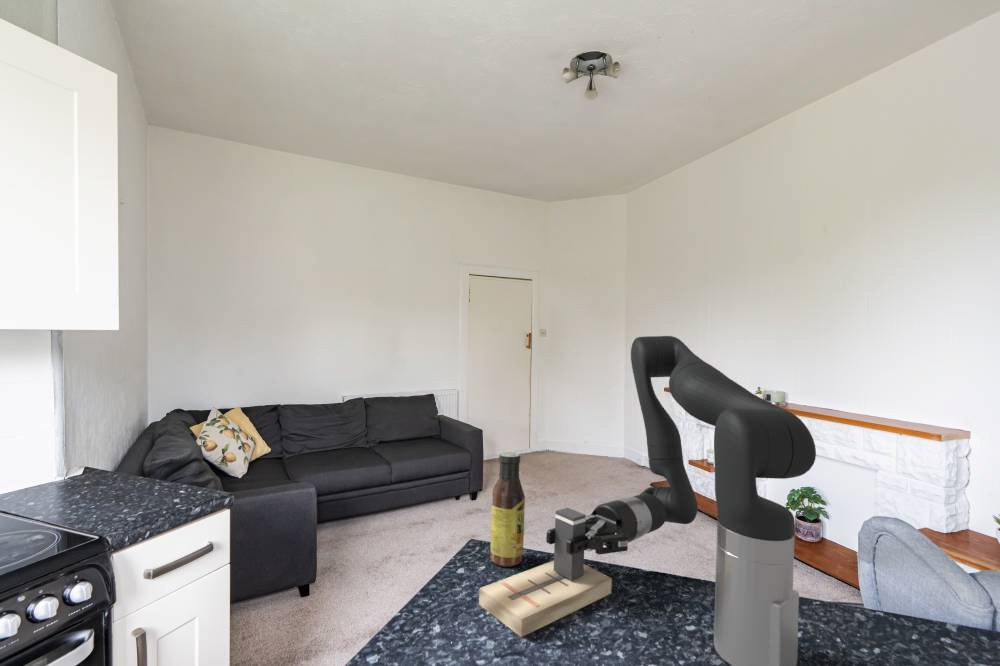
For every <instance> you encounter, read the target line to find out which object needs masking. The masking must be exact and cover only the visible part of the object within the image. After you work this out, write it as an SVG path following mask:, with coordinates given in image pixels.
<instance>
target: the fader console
mask: <svg viewBox="0 0 1000 666" xmlns="http://www.w3.org/2000/svg"><path fill="white" fill-rule="evenodd" d="M612 581H613V579H612V577H610V576H608V575H606V574H604V573H602V572H600V571H599V570H597V569H594V568H592V567H591V566H588V565H587V564H585V563H584V574H583V576H580V577H578V578H576V579H573V580H570V579H568V578H566V577H564V576H563V575H561V574H559V573H557V572H555V571H554V560H551V561H548V562H546V563H544V564H540V565H538V566H535V567H532V568H530V569H527V570H525V571H522V572H519V573H517V574H514V575H511V576H509V577H506V578H504V579H500V580H498V581H495V582H493V583H490V584H487V585H485V586H482V587H479V591H478V592H479V593H478V605H479V606H480V607H482V608H483V609H484V610H486V612H488V613H489V614H491V615H492V616H493V617H494V618H496V619H497V620H498V621H500V622H501V623H502V624H504V625H505V626H506V627H508V628H509V629H510V630H511V631H512V632H514V633H515V634H516V635H517V636H519V637H520V638H523V637H525V636H526V635H529V634H531V633H533V632H535V631H537V630H539V629H541V628H544V627H545V626H547V625H550V624H551V623H554V622H556V621H558V620H559V619H562V618H564V617H566V616H568V615H570V614H571V613H575V612H576V611H578V610H580V609H582V608H584V607H586V606H589V605H591V604H592V603H595V602H597V601H599V600H601V599H603V598H605V597H607V596H609V595H611V594H612V586H613V585H612Z"/></svg>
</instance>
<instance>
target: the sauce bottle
mask: <svg viewBox="0 0 1000 666" xmlns="http://www.w3.org/2000/svg"><path fill="white" fill-rule="evenodd" d="M498 455H499V456H498V462H499V473H498V477H499V479H498V480H497V481H496V483H495V484H494V487H493V488H492V503H491V515H490V516H491V520H490V521H491V522H490V555H489V556H490V560H491V562H492V563H494V564H495V565H497V566H500V567H508V568H509V567H515V566H518V565H519V564H520V563H521V562H522V560H523V553H524V535H525V532H524V531H525V507H526V506H525V505H526V504H525V503H526V501H525V500H526V495H525V492H524V490H523V487H522V482H521V480H520V463H521V454H520V453H516V452H512V451H511V452H510V451H509V452H507V451H506V452H501V453H499V454H498ZM513 547H515V548H513ZM518 548H520V549H518ZM522 549H523V550H522Z"/></svg>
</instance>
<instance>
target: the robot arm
mask: <svg viewBox="0 0 1000 666" xmlns="http://www.w3.org/2000/svg"><path fill="white" fill-rule="evenodd" d="M630 362H631V368H632V374H633V379H634V383H635V388H636V393H637V397H638V401H639V406H640V409H641V414H642V419H643V422H644V424H643V425H644V429H645V436H646V446H647V457H648V467H649V470H650V472H651V473H652V474H655V475H657V476H661V477H663V478H664V479H665V480H666V481H667V483H668V486H660V485H657V486H651V487H650V486H649V487H648V488H646V489H644V490H643V491H642V492H640V494H638V495H633V496H631V497H622V498H619V499H615V500H612V501H608V502H605V503H604V502H603V503H602V504H598V505H597V506H596V507H595V508H594V510H593V511H592V512H591V514H587V515H586V514H585V515H586V516H585V518H586V521H585V536H583V535H581V536H578V537H575V538H572V539H569V540H568V541H567V549H566V552H567V553H568V554H570V555H572V554H575V553H579V552H581V551H584V552H585V551H586V552H592V551H595V554H597V555H607V554H611V553H612V554H613V553H614V554H615V553H620V552H621V553H622V552H628V546H629V543H631V542H634V541H637V540H638V539H640V538H642V537H643V536H645V535H647V534H650V533H652V532H655V531H657V530H658V529H660V528H661V527H663V526H664V524H665V522H666V523H672V524H673V523H674V524H680V525H689V524H691V523H693V521H695V519H696V517H697V514H698V509H699V508H698V501H697V500H698V499H697V497H696V493H695V490H694V489H693V486H692V484H691V481H690V479H689V475H688V473H687V470H686V468H685V465H684V456H683V446H682V438H681V434H680V431H679V428H678V427H677V424H676V423H675V421H674V420H673V418H672V417H671V415H670V414H669V413H668V412H667V410H666V409H665V407H664V406H663V405H662V403H661V401H660V400H659V399H658V397H657V395H656V393H655V390H654V387H653V381H652V378H669V380H668V388H669V389H668V390H669V393H670V395H671V396H672V398H673V399H674V401H675V403H677V404H678V405H679V407H681V408H682V409H683V410H684V411H685V412H686V413H687V414H688V415H690V416H691V417H693V418H695V419H696V420H699V421H700V422H703V423H706V424H708V425H710V426H713V427H714V434H713V455H714V493H715V494H714V496H715V502H716V509H717V514H716V515H717V517H716V518H717V521H716V522H717V524H716V551H715V552H716V553H715V581H714V582H715V583H714V585H715V586H714V587H715V589H714V590H715V591H714V620H713V621H714V623H713V646H714V649H715V651H716V653H717V654H718V655H719V657H720V658H722V660H723V661H725V662H726V663H728V664H729V665H730V666H798V648H799V647H798V642H799V641H798V640H799V638H798V637H799V601H800V600H799V599H800V597H799V596H800V594H799V592H798V591H797V590H795V589H794V561H795V559H794V557H795V533H796V532H795V531H796V530H795V528H796V526H795V525H796V523H795V517H794V515H793V513H792V511H790V510H789V509H788V508H787V507H785V506H784V505H782V504H780V503H777V502H775V501H773V500H772V499H771V500H770V499H767V498H765V497H762V496H761V495H759V494H758V488H757V479H775V480H776V479H779V480H780V479H783V480H784V479H793V478H797V477H800V476H803V475H805V474H806V473H808V472H809V471H810V470H811V468H812V467H813V465H814V464H815V462H816V458H817V451H816V444H815V440H814V438H813V436H812V434H811V432H810V430H809V428H808V426H807V425H806V424H805V423H804V422H803V421H802V420H801V418H799V417H798V416H797V415H796V414H794V413H792V412H791V411H790V410H787V409H785V408H783V407H781V406H779V405H776V404H774V403H772V402H769V401H768V400H766V399H763V398H761V397H759V396H757V395H756V394H754V393H752V392H751V391H749V390H748V389H746V388H745V387H743V386H742V385H741V384H739V383H738V382H736V381H734V380H733V379H731V378H730V377H728V376H726V374H724V373H723V372H722V371H720V370H719V369H717V368H716V367H714V366H712V365H711V364H710V363H707V362H706V361H705V360H703V359H702V358H700V357H699V356H698V355H697V354H695V353H694V352H693V351H692V350H691V349H690V348H689V347H688V346H687V345H686V344H685V343H684V342H683V341H682V340H680V339H679V338H677V337H676V336H672V335H659V336H658V335H654V336H653V335H652V336H651V335H650V336H638V337H635V339H634V340H633V341H632V344H631V348H630ZM546 543H547V544H548V545H553V544H554V545H555V527H554V528H551V529H550V528H549V529H548V530H547V531H546ZM605 546H606V547H605Z"/></svg>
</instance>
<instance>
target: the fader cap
mask: <svg viewBox="0 0 1000 666" xmlns="http://www.w3.org/2000/svg"><path fill="white" fill-rule="evenodd" d="M585 516H586V514H585V513H582V512H580V511H578V510H575V509H572V508H569V507H566V508H561V509H558V510H555V517H554V518H555V524H554V528H555V543H554V546H553V547H554V552H553V561H554V571H555V572H557V573H559V574H561V575H563V576H564V577H566V578H568V579H570V580H573V579H576V578H578V577H580V576H583V574H584V564H585V550H584V551H581V552H579V553H575V554H572V555H570V554H568V553H567V552H566V549H567V541H568V540H569V539H572V538H575V537H578V536H581V535H583V536H585V521H586V518H585Z"/></svg>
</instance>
